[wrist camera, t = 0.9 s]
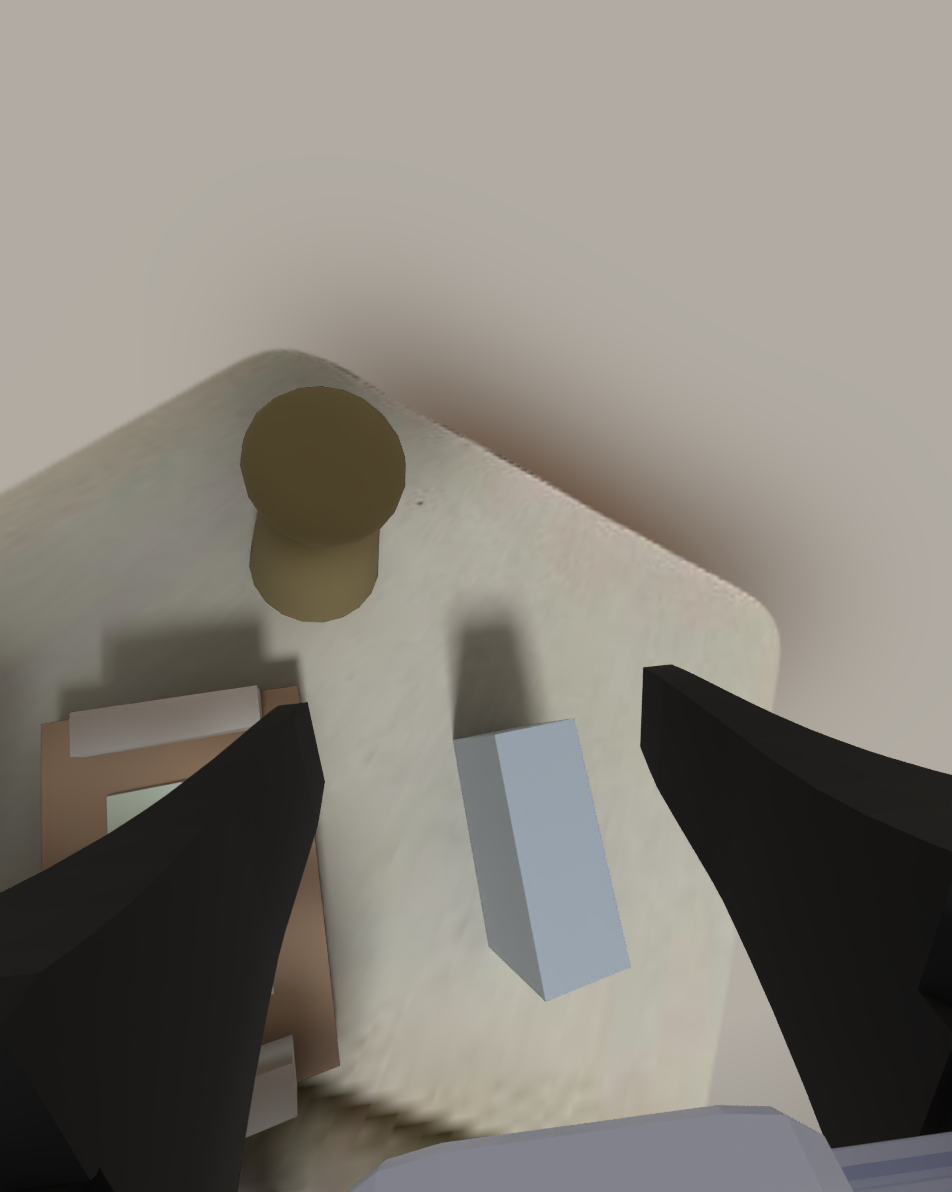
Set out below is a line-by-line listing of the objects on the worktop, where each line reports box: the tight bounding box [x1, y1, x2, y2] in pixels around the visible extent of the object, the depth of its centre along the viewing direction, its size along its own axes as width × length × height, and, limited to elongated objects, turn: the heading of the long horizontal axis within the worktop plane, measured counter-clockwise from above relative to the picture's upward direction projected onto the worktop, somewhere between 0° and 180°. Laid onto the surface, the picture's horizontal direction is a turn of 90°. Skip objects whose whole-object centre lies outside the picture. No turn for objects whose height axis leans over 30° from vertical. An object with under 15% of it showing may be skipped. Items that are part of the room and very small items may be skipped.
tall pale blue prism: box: [453, 718, 631, 1001], centre depth 23 cm, size 9×4×6 cm, turn 11°
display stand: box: [41, 685, 340, 1137], centre depth 19 cm, size 14×9×4 cm, turn 11°
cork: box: [240, 386, 406, 622], centre depth 21 cm, size 6×6×11 cm
